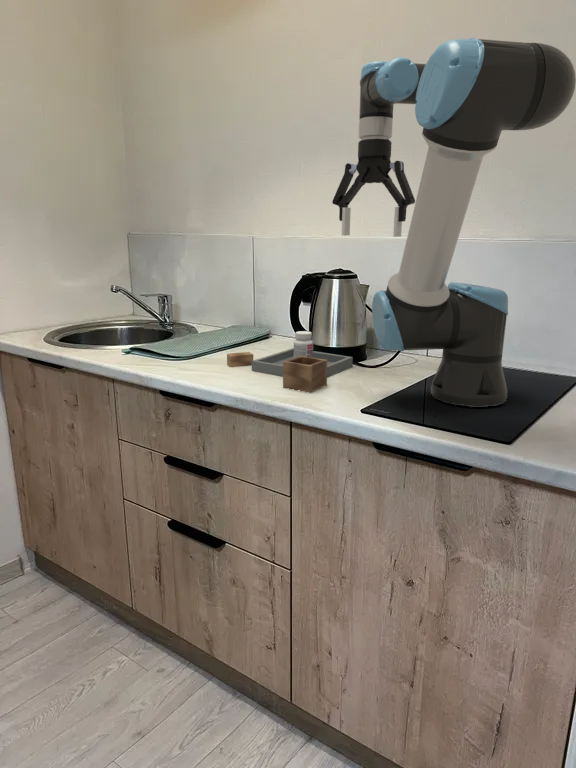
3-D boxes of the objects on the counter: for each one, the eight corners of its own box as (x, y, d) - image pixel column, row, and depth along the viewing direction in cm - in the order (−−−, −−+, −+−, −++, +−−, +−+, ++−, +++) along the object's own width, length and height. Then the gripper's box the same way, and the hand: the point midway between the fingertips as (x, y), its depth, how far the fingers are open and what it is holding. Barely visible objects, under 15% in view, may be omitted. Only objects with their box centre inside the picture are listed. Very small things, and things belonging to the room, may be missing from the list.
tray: (352, 366, 144) (352, 357, 143) (314, 382, 130) (314, 372, 129) (293, 356, 154) (293, 348, 153) (251, 370, 139) (251, 361, 139)
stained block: (249, 363, 148) (249, 351, 147) (253, 365, 145) (253, 354, 144) (227, 365, 145) (226, 353, 144) (230, 368, 143) (230, 356, 142)
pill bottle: (310, 369, 139) (311, 334, 137) (291, 367, 140) (291, 333, 137) (314, 364, 143) (314, 331, 141) (295, 363, 144) (295, 330, 142)
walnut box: (326, 386, 127) (327, 359, 126) (309, 393, 122) (310, 366, 120) (300, 381, 131) (300, 355, 130) (282, 388, 126) (283, 361, 124)
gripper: (433, 137, 127) (426, 236, 133) (335, 145, 140) (333, 234, 146) (420, 133, 121) (414, 237, 127) (319, 141, 134) (317, 235, 140)
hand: (370, 236), depth 137 cm, fingers open, 13 cm apart
